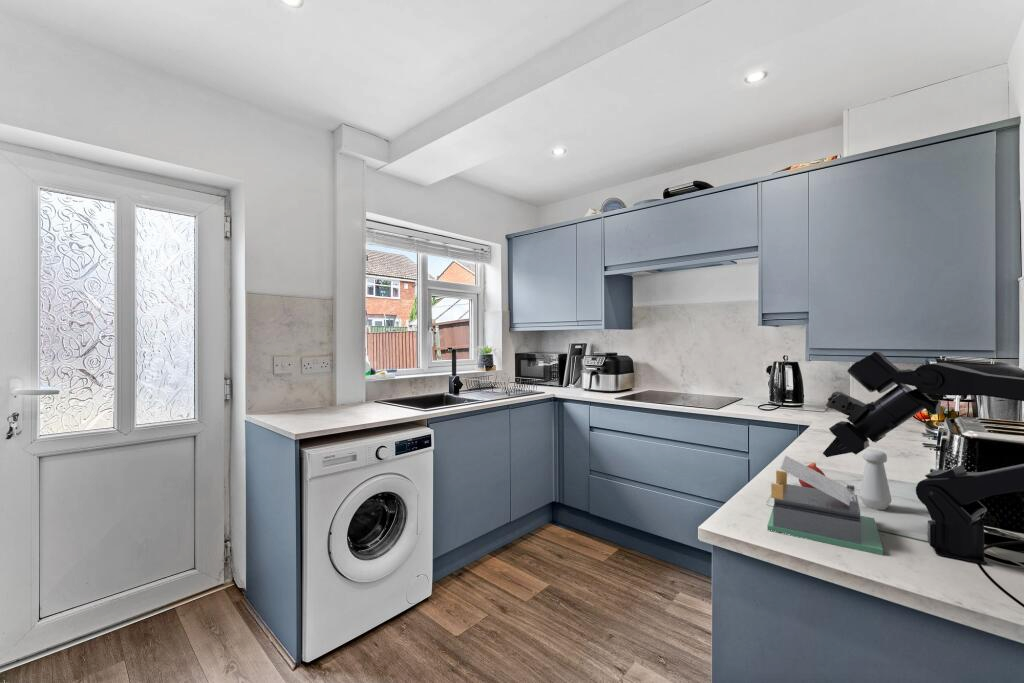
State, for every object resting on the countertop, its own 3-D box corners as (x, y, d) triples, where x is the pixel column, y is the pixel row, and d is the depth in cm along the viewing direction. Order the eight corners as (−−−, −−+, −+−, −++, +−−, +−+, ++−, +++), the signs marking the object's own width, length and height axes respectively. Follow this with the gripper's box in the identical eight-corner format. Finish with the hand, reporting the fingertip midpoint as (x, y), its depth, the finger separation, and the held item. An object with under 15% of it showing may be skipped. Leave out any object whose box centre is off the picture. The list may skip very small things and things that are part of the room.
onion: (801, 496, 108) (801, 464, 108) (796, 489, 114) (796, 458, 114) (829, 499, 106) (829, 466, 106) (823, 491, 111) (822, 460, 111)
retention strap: (852, 495, 92) (855, 490, 91) (855, 510, 84) (858, 505, 84) (783, 459, 99) (786, 454, 98) (779, 469, 91) (782, 464, 91)
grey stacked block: (856, 515, 94) (856, 479, 94) (861, 544, 81) (861, 502, 81) (777, 501, 102) (777, 468, 102) (770, 525, 89) (770, 487, 89)
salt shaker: (897, 512, 98) (897, 454, 98) (868, 510, 99) (868, 453, 99) (881, 503, 104) (881, 448, 103) (853, 501, 105) (853, 447, 105)
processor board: (874, 522, 92) (874, 518, 92) (882, 555, 79) (882, 549, 79) (775, 504, 103) (775, 500, 103) (767, 530, 89) (767, 525, 89)
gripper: (866, 377, 97) (809, 420, 106) (841, 383, 86) (779, 430, 94) (914, 417, 91) (849, 459, 100) (894, 429, 79) (823, 475, 88)
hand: (825, 454), depth 96 cm, fingers closed
